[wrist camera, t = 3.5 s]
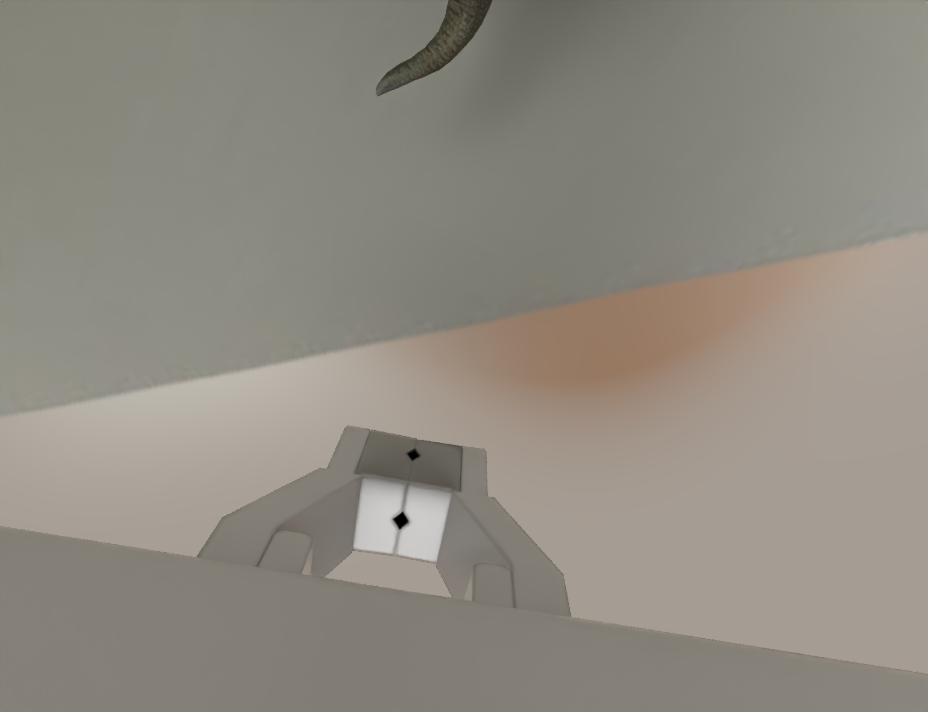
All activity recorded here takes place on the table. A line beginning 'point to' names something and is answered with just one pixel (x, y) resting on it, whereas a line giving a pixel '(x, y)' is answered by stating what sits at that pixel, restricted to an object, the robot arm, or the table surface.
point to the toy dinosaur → (439, 44)
